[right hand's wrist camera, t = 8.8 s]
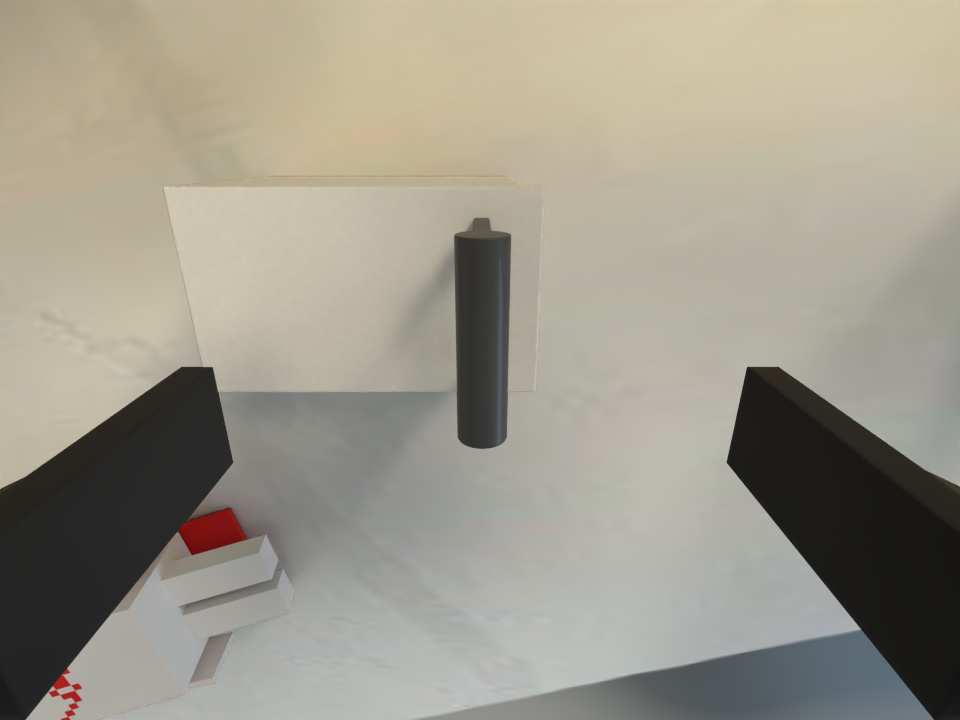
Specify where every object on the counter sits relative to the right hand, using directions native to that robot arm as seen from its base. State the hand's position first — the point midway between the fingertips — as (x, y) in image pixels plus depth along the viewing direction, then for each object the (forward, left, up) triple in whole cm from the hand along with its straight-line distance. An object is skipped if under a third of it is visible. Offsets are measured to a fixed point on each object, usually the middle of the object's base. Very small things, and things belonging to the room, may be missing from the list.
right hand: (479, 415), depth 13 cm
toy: (+41, -8, -24) cm, 48 cm away
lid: (+3, -4, -13) cm, 14 cm away
